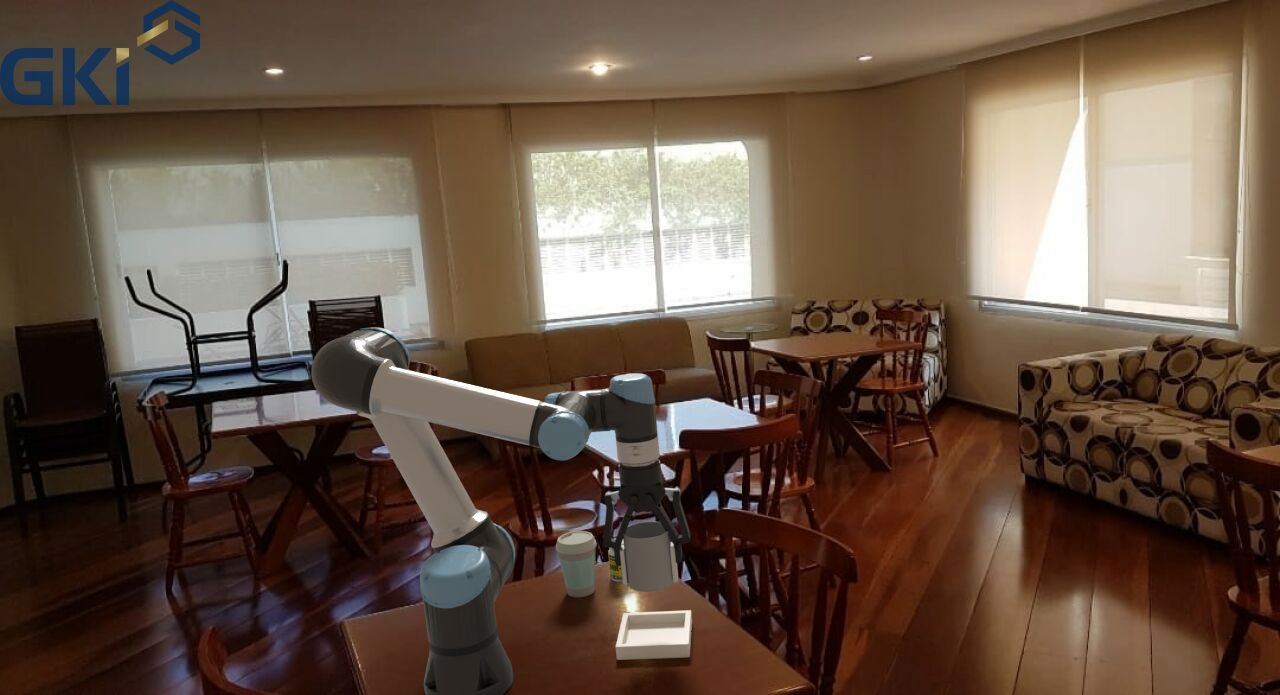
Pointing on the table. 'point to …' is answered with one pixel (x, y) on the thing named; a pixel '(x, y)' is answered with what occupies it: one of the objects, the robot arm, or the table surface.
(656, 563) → the cup
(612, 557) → the supplement bottle
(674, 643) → the tray
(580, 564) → the coffee cup
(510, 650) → the table surface
